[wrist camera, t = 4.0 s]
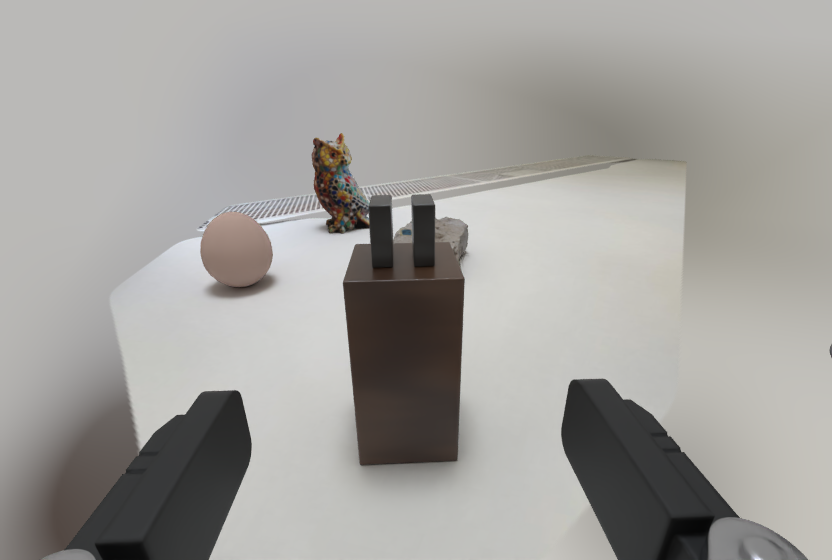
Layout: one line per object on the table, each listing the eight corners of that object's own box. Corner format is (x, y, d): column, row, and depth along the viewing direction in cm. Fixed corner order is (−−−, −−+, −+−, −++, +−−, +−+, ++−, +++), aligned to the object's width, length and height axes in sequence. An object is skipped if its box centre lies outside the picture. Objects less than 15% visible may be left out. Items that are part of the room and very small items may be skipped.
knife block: (446, 396, 27) (450, 188, 21) (457, 461, 22) (467, 211, 16) (366, 399, 26) (350, 190, 21) (359, 465, 21) (336, 214, 16)
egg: (241, 270, 49) (227, 203, 45) (289, 276, 47) (279, 207, 43) (194, 293, 43) (174, 218, 39) (248, 302, 40) (232, 223, 37)
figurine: (365, 235, 62) (358, 134, 56) (311, 233, 63) (299, 134, 57) (378, 221, 70) (373, 131, 64) (330, 220, 71) (321, 132, 65)
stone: (454, 262, 41) (370, 243, 44) (450, 305, 44) (373, 284, 48) (487, 212, 51) (417, 199, 54) (483, 250, 54) (417, 236, 58)
